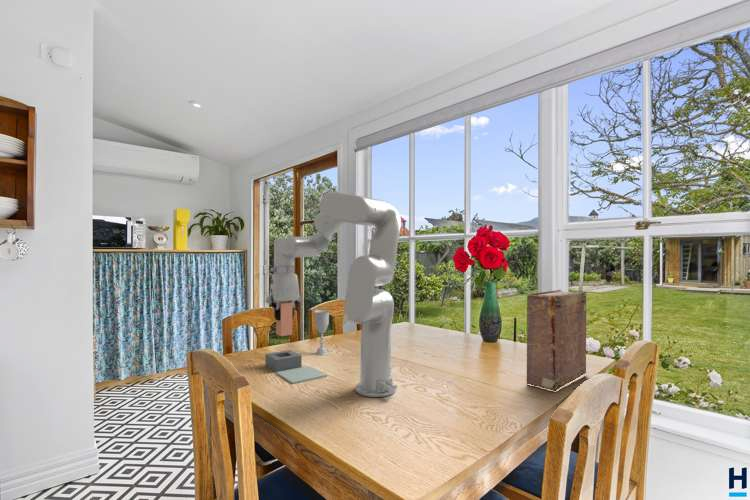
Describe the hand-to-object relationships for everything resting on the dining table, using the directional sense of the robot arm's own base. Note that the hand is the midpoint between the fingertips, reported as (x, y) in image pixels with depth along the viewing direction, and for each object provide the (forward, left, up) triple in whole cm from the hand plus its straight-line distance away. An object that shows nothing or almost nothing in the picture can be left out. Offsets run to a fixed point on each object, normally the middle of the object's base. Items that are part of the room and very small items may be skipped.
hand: (284, 318), depth 144 cm
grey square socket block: (0, 0, -18) cm, 18 cm away
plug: (0, 0, -6) cm, 6 cm away
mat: (-13, -1, -18) cm, 22 cm away
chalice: (+8, -21, -18) cm, 29 cm away
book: (-69, -68, -18) cm, 99 cm away
